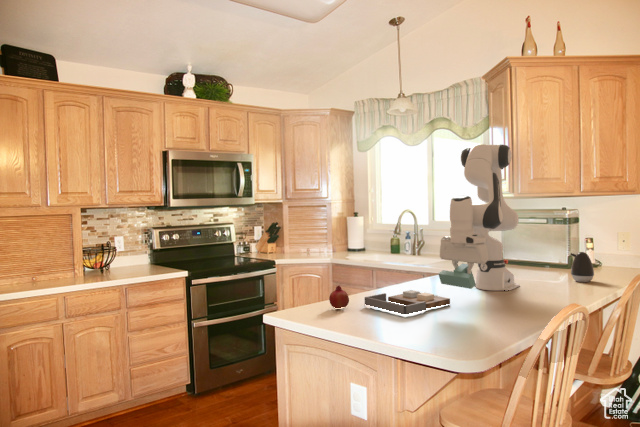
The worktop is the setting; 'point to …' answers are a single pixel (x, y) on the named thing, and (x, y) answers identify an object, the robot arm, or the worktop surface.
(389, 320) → the worktop surface
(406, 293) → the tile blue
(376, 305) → the tray
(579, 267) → the pump dispenser
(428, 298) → the tile cream
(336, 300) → the fruit
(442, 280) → the scraper
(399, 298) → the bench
